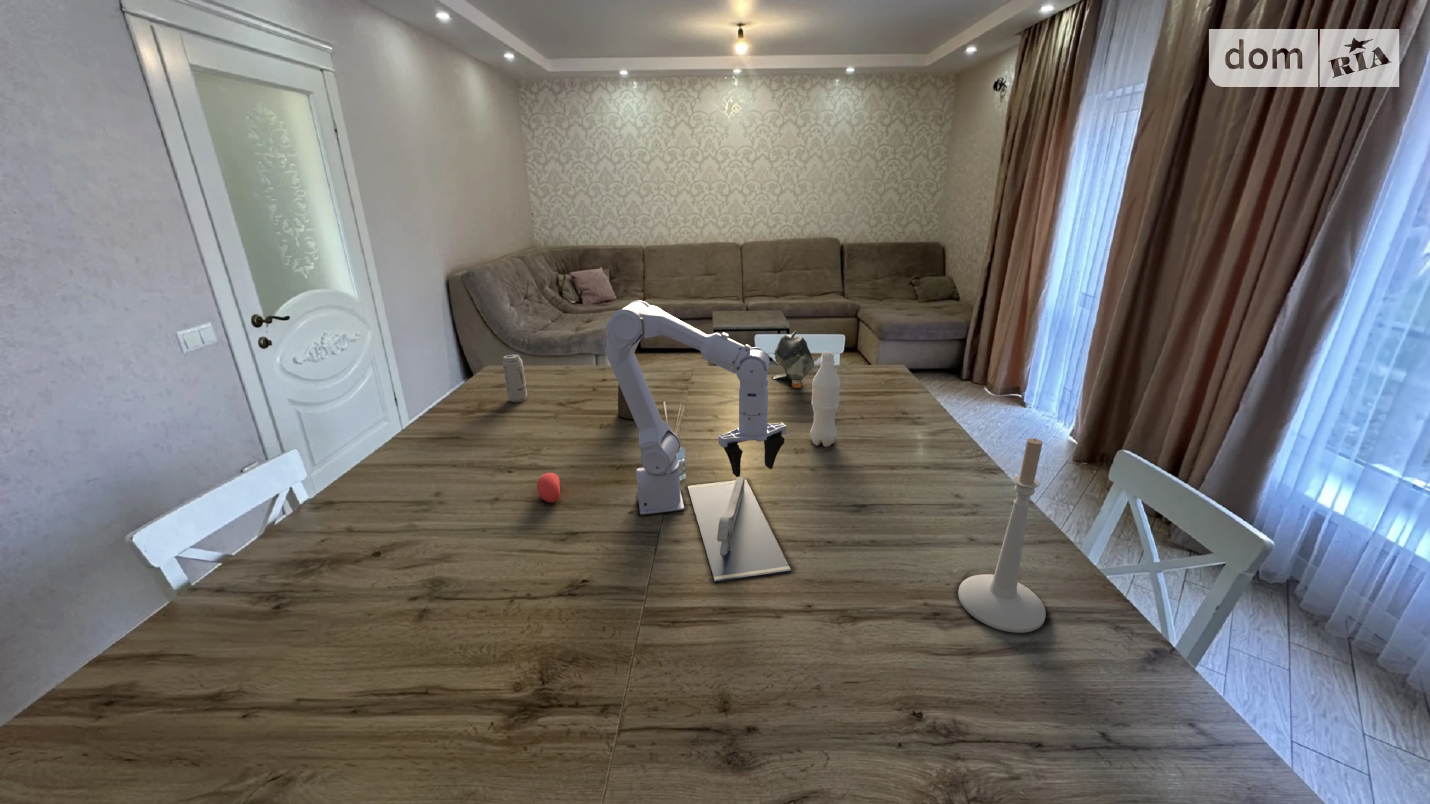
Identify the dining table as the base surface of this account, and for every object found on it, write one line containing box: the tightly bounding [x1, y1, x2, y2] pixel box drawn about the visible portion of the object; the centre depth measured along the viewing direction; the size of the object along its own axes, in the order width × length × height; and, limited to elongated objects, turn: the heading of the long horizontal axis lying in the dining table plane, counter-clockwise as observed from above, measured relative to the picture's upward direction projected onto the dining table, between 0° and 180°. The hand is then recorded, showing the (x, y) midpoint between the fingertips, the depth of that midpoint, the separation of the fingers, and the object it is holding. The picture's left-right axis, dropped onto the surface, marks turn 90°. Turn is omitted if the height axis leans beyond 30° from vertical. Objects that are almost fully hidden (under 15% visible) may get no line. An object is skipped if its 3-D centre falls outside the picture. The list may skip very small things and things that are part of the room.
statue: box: [617, 356, 640, 420], centre depth 163 cm, size 9×8×25 cm
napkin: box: [687, 478, 792, 583], centre depth 113 cm, size 14×34×1 cm, turn 11°
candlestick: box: [957, 437, 1047, 634], centre depth 85 cm, size 13×13×30 cm
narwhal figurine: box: [772, 328, 815, 389], centre depth 189 cm, size 14×15×18 cm
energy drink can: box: [502, 353, 528, 403], centre depth 180 cm, size 6×6×15 cm
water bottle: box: [809, 351, 841, 448], centre depth 144 cm, size 7×7×25 cm
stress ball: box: [536, 472, 561, 504], centre depth 124 cm, size 5×9×6 cm, turn 4°
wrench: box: [717, 477, 745, 556], centre depth 112 cm, size 8×2×30 cm
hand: (752, 470), depth 114 cm, fingers open, 7 cm apart
